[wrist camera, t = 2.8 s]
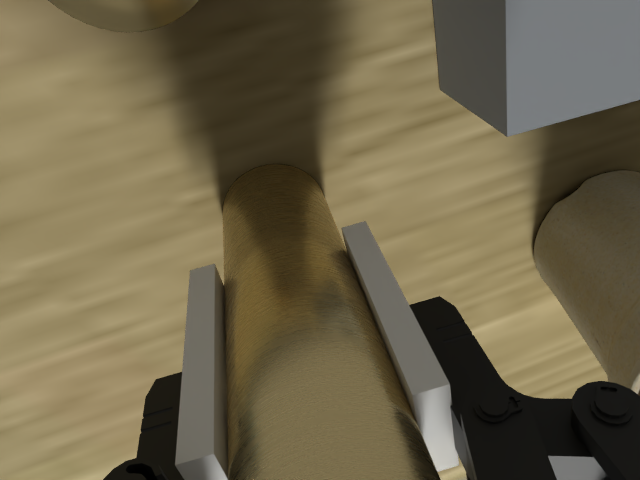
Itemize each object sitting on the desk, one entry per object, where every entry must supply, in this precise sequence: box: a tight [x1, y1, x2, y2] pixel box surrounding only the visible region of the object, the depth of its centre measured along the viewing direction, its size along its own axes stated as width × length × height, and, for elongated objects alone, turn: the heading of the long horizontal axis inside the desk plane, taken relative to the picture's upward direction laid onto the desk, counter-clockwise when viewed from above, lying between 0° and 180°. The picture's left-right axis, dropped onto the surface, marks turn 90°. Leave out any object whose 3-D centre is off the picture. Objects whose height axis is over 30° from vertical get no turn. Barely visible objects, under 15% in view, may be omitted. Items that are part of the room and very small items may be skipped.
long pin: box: [223, 164, 440, 480], centre depth 14 cm, size 4×4×14 cm
